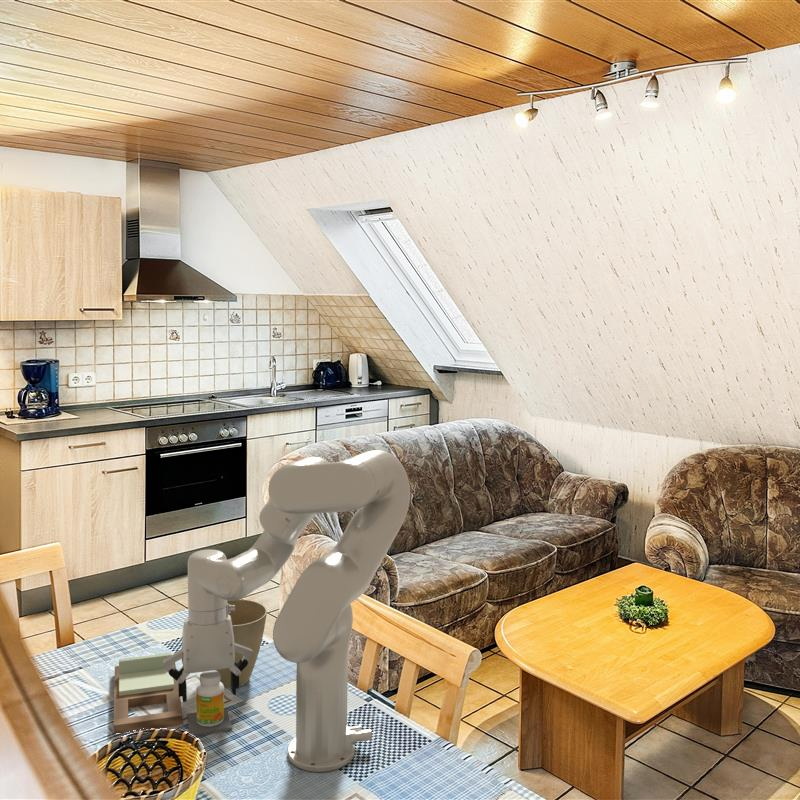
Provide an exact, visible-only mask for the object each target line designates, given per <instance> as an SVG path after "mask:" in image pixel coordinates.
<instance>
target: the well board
mask: <svg viewBox="0 0 800 800" xmlns="http://www.w3.org/2000/svg"><path fill="white" fill-rule="evenodd" d="M173 667H174V668H176V669H177V667H176V662H175V663H174V664H173ZM173 680H174V689H167V690H160V691H153V692H145V693H138V694H131V695H123V696H119V665H116V666H114V680H113V682H114V687H113V688H114V691H113V693H114V696H113V735H114V734H116V733H124V732H129V731H130V732H131V733H134V732H133V730H136V731H138V732H140V731H139V730H140V729H141V730H144V731H147V730H146V729H151V728H158V729H164V728H170V727H176V726H183V725H184V713H183V706H182V700H181V697H179V692H178V682H177V681H176V680H175V679H174V678H173ZM162 704H166V711H165V712H158V713H151V714H150V713H149V714H145V715H144V714H143V715H139V716H131V717H129V709H132V708H133V709H134V708H140V707H146V706H147V707H149V706H154V705H162ZM143 728H144V729H143ZM151 730H152V729H151Z"/></svg>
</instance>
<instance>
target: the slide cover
mask: <svg viewBox="0 0 800 800" xmlns="http://www.w3.org/2000/svg"><path fill="white" fill-rule="evenodd" d="M171 655H173V653H172V652H166V653H157V654H150V655H141V656H134V657H132V656H131V657H126V658H118V666H119V696H123V695H131V694H138V693H145V692H153V691H160V690H167V689H174V680H173V677H171V676H170V675H169V673H168V671H167V670H166V668H165V667H164V665H163V661H164V660H165V659H166V658H168V657H170V656H171Z"/></svg>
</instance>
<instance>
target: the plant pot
mask: <svg viewBox="0 0 800 800" xmlns="http://www.w3.org/2000/svg"><path fill="white" fill-rule="evenodd" d="M227 603H228V604H229V605H230V604H231V605H235V612H231V613H229V614H228V615H230V616H231V620H232V627H233V634H234V643H237V644H239V645H242V646H245V647H248V648H250V649H252V652H253V654H252V656H251V658H250V660H249V662H248V665H247V666H246V667H245V668H244V669H243V670H242V671H241V674H240V675H239V687H240V686H243V685H245V684H247V683H248V682H249V680H250V678H251V676H252V673H253V670H254V668H255V666H256V663H257V660H258V655H259V653H260V649H261V645H262V643H263V642H262V641H263V637H264V633H265V632H264V631H265V627H266V626H265V625H266V621H267V612H268V609H267V607H266V606H265V605H264V604H263V603H261V602H257V601H255V600H252V599H243V598H241V599H239V600H235V601H229V600H227ZM242 658H243V654H241V653H238V652H235V662H236V663H238V662H239V661H240V660H241V659H242ZM215 671H218V672H220V678H221V679H220V682H221V683H222V684H223V685H224V688H225V687H226V688H231V670H230V669H229V668H226V669H220V670H215Z"/></svg>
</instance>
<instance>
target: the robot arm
mask: <svg viewBox="0 0 800 800" xmlns="http://www.w3.org/2000/svg"><path fill="white" fill-rule="evenodd" d="M267 491H268V496H269V500H268V501H267V502H266V503H265V505H264V507H262V509H261V510H260V513H259V516H258V517H259V518H258V519H259V523H260V526H261V527H262V529H263V531H262V533H261V535H260V536H259V537H258V539H257V540H256V541H255V542H254V544H252V546H251V547H250V548H249V549H248V550H246V551H243V552H242V553H240V554H238V555H235V556H234V557H231V558H227V556H226V554H225V553H224V552H223V551H221V550H218V549H201V550H197V551H194V552H192V553H191V554H190V555H189V557H188V559H187V601H188V602H187V605H188V606H187V607H188V608H187V611H188V613H187V614H188V616H187V618H185V619H184V622H183V626H182V628H183V629H182V636H181V649H179V650H178V651H176V652H174V653H172V655H171V656H170V657H168V658H166V659H165V660H164V661H163V665H164V667H165V668H166V670H167V671H168V673H169V675H170V676H171V677H173V678H174V679H175V680H176V681H177V682H178V692H179V697H180V698H182V703H186V702H187V700H188V697H187V696H188V695H187V694H188V693H187V689H188V687H187V678H188V677H189V675H190V674H194V673H202V672H205V671H212V670H220V669H226V668H229V669H230V670H231V687H230V690H231V695H233V696H237V689H240V686H239V675H240V674H241V671H242V670H243V669H244V668H245V667H246V666H247V665H248V662H249V660H250V658H251V656H252V654H253V652H252V649H250V648H248V647H245V646H242V645H239V644H237V643H234V634H233V627H232V620H231V616H230V615H228V614H229V613H231V612H235V605H231V604H230V605H229V604H228V603H227V600H229V601H235V600H239V599H243V598H245V597H246V596H248V595H250V594H251V593H253V592H254V591H256V590H258V589H260V588H261V587H262V586H264V585H267V584H268V583H269V582H270V581H271V580H272V579H273V578H274V577H275V576H277V573H279V572H280V570H281V569H282V567H284V565H285V564H286V563H287V562H288V560H289V559H290V558H291V556H292V554H293V553H294V551H295V548H296V546H297V543H298V538H299V537H300V536H301V535H302V533H303V532H304V531H305V529H306V528H307V526H308V525H309V524H310V522H311V521H312V519H314V517H315V516H316V515H317V514H330V513H331V514H333V513H344V512H345V513H346V512H352V511H355V513H354V514H353V516H352V517H351V518H350V520H349V522H348V524H347V525H346V527H345V530H344V531H343V533H342V535H341V536H340V538H339V540H338V541H337V543H336V545H334V547H333V548H332V549H331V550H329V551H328V552H327V553H325V554H324V555H323V556H320V557H319V558H318V559H316V560H315V561H313V562H311V564H309V565H308V566H307V567H305V569H304V570H303V571H302V573H301V574H300V575H299V577H298V579H297V581H296V582H295V584H294V585H293V588H292V589H291V591H290V593H289V594H288V597H287V599H286V601H284V604H283V606H282V607H281V609H280V611H279V613H278V614H277V618H276V619H275V621H274V624H273V629H272V640H273V645H274V648H275V650H276V652H277V653H278V654H279V655H280V657H281V658H282V659H284V660H286V661H287V662H290V663H293V664H294V663H295V664H296V675H295V677H296V679H295V680H296V683H295V684H296V685H295V687H296V689H295V693H296V694H295V696H296V697H295V701H296V703H295V707H296V708H295V712H296V713H295V717H296V718H295V720H296V721H295V737H293V739H292V740H291V741H290V743H289V744H288V746H287V757H288V760H289V761H290V763H291V764H293V766H295V767H297V768H299V769H301V770H304V771H309V772H316V773H317V772H319V773H321V772H322V773H324V772H331V771H334V770H338V769H340V768H342V767H344V766H346V765H348V764H349V763H350V762H351V761H352V760H353V758H354V756H355V752H356V747H355V746H356V745H357V743H358V742H365V741H372V740H373V733H372V730H371V728H370V729H364V730H363V729H362V728H363V727H362V725H361V724H358V725H354V726H350V725H348V678H349V677H348V675H349V651H350V643H351V636H352V630H353V624H354V623H353V622H354V618H353V617H354V614H353V608H352V605H351V604H353V602H355V601H356V600H358V598H360V597H361V596H362V595H363V594H364V593H365V592H366V591H367V589H368V588H369V586H370V584H371V582H372V581H373V578H374V576H375V575H376V574H377V573H376V572H377V571H378V569H379V567H380V566H381V564H382V563H383V561H384V559H385V557H386V555H388V554H387V553H388V551H389V549H390V548H391V545H393V542H394V540H395V539H396V538H397V535H398V533H399V532H400V529H401V527H402V526H403V523H404V522H405V519H406V517H407V513H408V510H409V508H410V507H409V506H410V502H411V485H410V480H409V475H408V474H407V471H406V469H405V467H404V465H403V464H402V463H401V460H399V459H398V457H396V456H395V455H394V454H393V453H391V452H389V451H386V450H380V449H377V450H375V449H374V450H367V451H364V452H361V453H359V454H356V455H354V456H352V457H350V458H345V459H344V460H341V461H334V462H329V461H328V460H326V459H325V458H322V457H320V456H319V457H318V456H307V457H303V458H301V459H298V460H295V461H293V462H289V463H286V464H284V465H282V466H281V467H279V468H277V470H276V471H275V472H274V473H273V474H272V476H271V477H270V480H269V483H268V490H267ZM235 652H238V653H241V654H243V658H242V659H241V660H240V661H239V662H238V663H236V662H235ZM180 660H181V664H182V666H181V668H180V669H179V670H178V669H177V667H176V668H174V667H173V664H174V663H175V664H176V663H177V662H178V661H180Z"/></svg>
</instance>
